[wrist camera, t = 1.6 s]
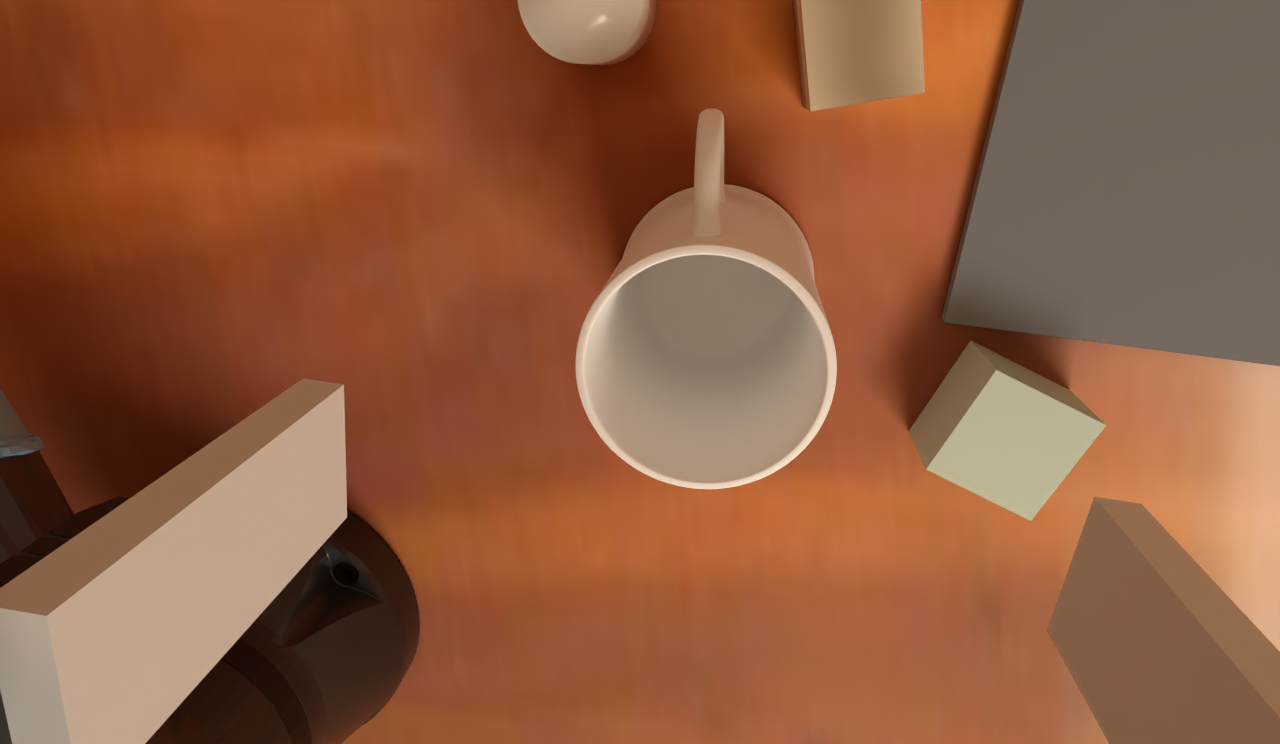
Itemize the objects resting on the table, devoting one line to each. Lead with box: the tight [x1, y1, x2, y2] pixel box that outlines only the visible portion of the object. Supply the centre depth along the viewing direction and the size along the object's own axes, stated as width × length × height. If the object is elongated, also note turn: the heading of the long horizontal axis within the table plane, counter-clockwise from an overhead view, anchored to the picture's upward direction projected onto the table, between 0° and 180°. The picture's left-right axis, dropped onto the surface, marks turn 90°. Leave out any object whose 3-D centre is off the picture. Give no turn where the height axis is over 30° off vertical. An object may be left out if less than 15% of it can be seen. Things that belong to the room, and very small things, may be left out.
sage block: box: [909, 340, 1106, 521], centre depth 35 cm, size 5×5×4 cm
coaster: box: [941, 0, 1280, 366], centre depth 32 cm, size 14×14×1 cm
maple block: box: [793, 0, 925, 111], centre depth 30 cm, size 4×4×4 cm
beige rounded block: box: [518, 0, 657, 65], centre depth 30 cm, size 4×4×5 cm
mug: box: [576, 109, 837, 489], centre depth 30 cm, size 12×8×12 cm
